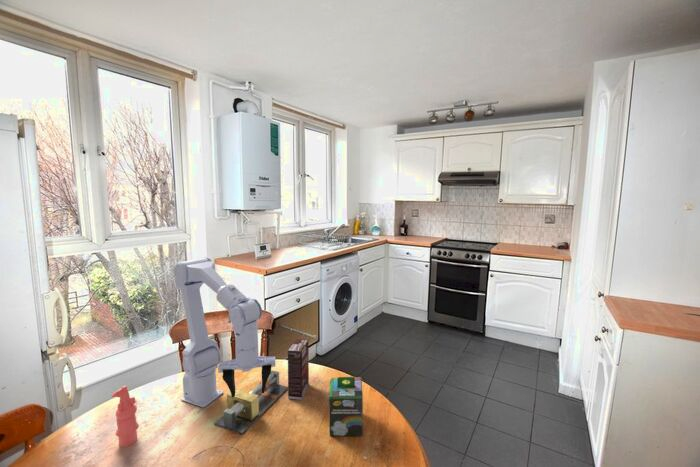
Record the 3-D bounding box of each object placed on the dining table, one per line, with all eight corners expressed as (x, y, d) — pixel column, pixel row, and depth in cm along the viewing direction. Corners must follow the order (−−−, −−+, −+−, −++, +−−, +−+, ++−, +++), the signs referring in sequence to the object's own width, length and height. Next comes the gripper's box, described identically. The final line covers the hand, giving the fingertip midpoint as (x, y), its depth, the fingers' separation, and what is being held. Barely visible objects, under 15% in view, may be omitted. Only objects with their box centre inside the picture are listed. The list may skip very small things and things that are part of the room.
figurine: (121, 452, 78) (116, 395, 76) (111, 443, 81) (106, 389, 79) (143, 438, 82) (139, 385, 81) (134, 431, 85) (129, 379, 83)
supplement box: (302, 400, 98) (301, 352, 96) (287, 399, 99) (286, 351, 97) (309, 384, 107) (309, 339, 105) (295, 383, 107) (295, 338, 105)
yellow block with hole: (252, 420, 88) (251, 401, 88) (227, 412, 91) (226, 394, 91) (258, 413, 91) (258, 395, 90) (234, 405, 94) (234, 388, 94)
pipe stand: (242, 434, 84) (241, 416, 83) (214, 424, 88) (213, 407, 87) (288, 388, 104) (287, 373, 104) (264, 381, 108) (263, 367, 107)
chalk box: (362, 413, 92) (362, 365, 91) (363, 437, 83) (363, 384, 82) (330, 413, 92) (330, 365, 91) (328, 437, 83) (328, 384, 82)
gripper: (215, 356, 79) (217, 406, 80) (274, 349, 82) (275, 398, 84) (219, 343, 86) (221, 389, 87) (274, 338, 89) (275, 383, 91)
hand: (248, 393), depth 86 cm, fingers open, 7 cm apart
